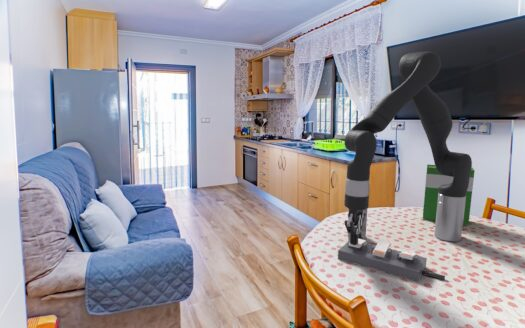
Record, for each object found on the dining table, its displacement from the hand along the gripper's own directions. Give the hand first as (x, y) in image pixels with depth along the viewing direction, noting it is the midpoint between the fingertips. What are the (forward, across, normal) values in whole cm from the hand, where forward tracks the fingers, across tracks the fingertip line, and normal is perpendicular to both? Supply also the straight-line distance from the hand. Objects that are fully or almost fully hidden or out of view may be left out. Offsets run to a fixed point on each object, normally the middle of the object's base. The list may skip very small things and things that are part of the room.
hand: (353, 243), depth 110 cm
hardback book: (+5, +62, -19) cm, 65 cm away
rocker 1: (+1, +3, 0) cm, 3 cm away
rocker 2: (+1, +3, -8) cm, 9 cm away
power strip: (+5, +3, -11) cm, 13 cm away
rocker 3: (+1, +3, -16) cm, 16 cm away
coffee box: (+6, +18, +6) cm, 19 cm away
